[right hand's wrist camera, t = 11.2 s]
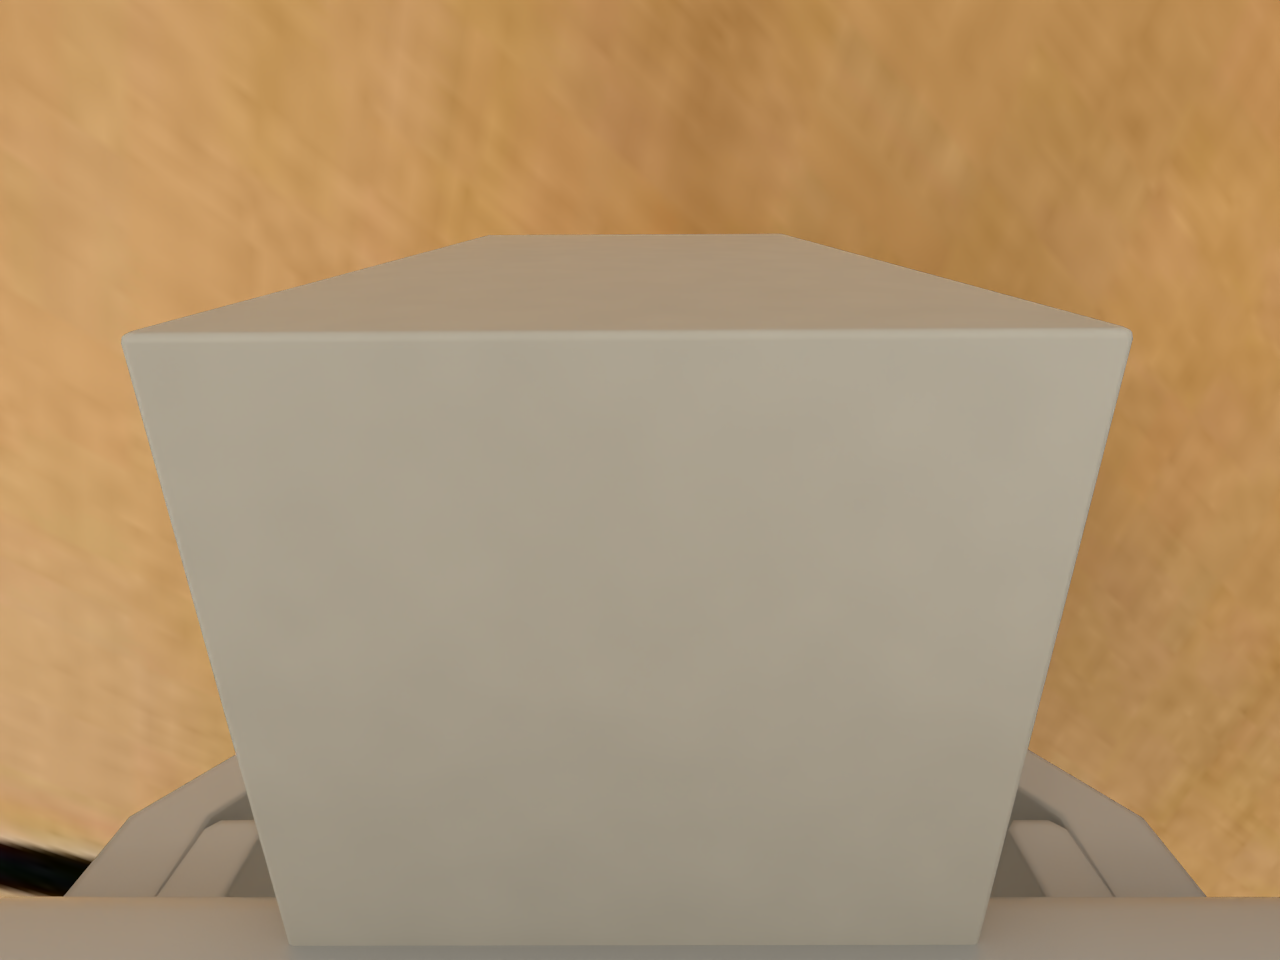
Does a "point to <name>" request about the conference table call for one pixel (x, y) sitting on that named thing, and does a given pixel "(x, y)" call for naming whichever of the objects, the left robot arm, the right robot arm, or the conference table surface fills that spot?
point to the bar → (630, 583)
